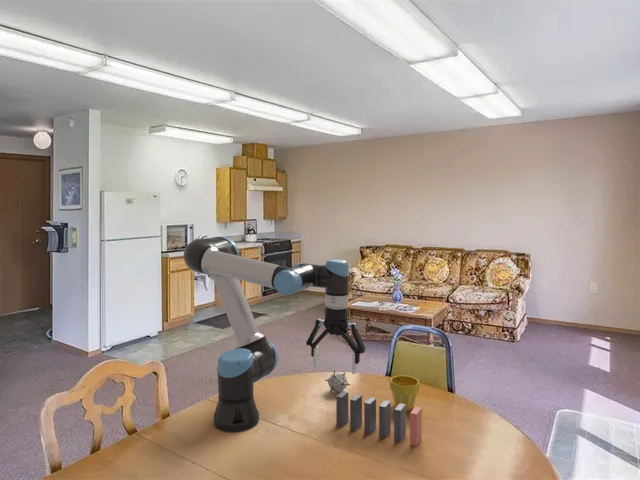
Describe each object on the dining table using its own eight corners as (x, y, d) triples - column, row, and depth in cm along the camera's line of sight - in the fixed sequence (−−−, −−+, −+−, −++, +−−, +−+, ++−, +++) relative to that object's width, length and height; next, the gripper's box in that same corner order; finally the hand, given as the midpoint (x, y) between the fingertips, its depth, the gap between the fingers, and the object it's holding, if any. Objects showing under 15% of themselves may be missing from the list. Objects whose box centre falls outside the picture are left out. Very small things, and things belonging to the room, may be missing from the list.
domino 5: (394, 440, 141) (394, 409, 140) (399, 433, 145) (399, 403, 144) (400, 442, 140) (400, 410, 139) (405, 435, 144) (405, 404, 143)
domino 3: (364, 432, 145) (364, 402, 145) (370, 426, 150) (370, 396, 149) (370, 434, 144) (370, 403, 144) (376, 427, 149) (376, 398, 148)
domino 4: (378, 436, 143) (379, 405, 142) (384, 429, 147) (384, 399, 147) (384, 438, 142) (385, 407, 141) (390, 431, 146) (390, 401, 146)
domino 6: (421, 439, 141) (421, 407, 141) (416, 446, 137) (416, 414, 136) (415, 437, 142) (415, 406, 142) (409, 444, 138) (410, 412, 137)
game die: (342, 400, 178) (358, 381, 178) (332, 400, 172) (348, 380, 171) (327, 384, 184) (343, 365, 183) (317, 383, 177) (332, 363, 176)
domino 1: (336, 425, 150) (336, 396, 150) (343, 419, 155) (343, 390, 154) (341, 427, 149) (341, 397, 149) (348, 420, 154) (348, 392, 153)
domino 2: (350, 429, 148) (350, 399, 147) (356, 422, 152) (356, 393, 151) (355, 430, 147) (355, 400, 146) (362, 424, 151) (362, 395, 151)
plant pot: (424, 410, 161) (425, 383, 161) (399, 415, 158) (399, 387, 157) (408, 398, 171) (409, 373, 170) (384, 403, 167) (384, 377, 166)
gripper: (297, 305, 151) (296, 367, 153) (369, 313, 142) (367, 379, 144) (306, 300, 158) (305, 360, 160) (376, 308, 149) (374, 371, 151)
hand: (334, 369), depth 152 cm, fingers open, 13 cm apart
